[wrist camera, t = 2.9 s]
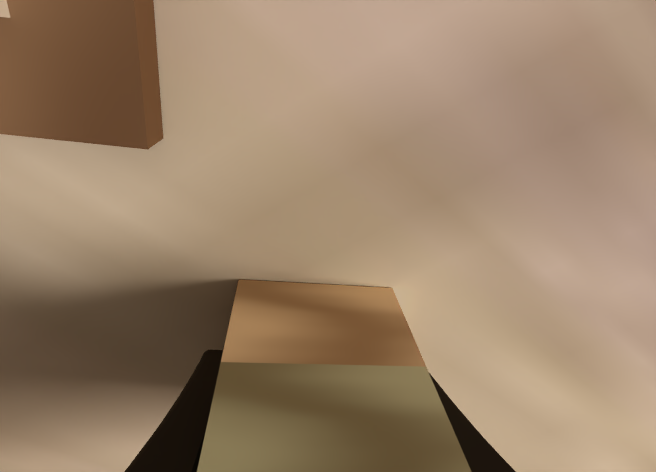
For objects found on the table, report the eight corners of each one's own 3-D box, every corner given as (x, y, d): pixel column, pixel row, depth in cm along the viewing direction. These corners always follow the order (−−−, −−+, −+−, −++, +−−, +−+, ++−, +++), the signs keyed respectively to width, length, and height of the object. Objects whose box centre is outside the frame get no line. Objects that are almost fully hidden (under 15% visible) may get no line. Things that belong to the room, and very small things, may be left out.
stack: (235, 389, 12) (194, 656, 7) (238, 279, 10) (181, 537, 5) (364, 390, 13) (419, 634, 7) (392, 287, 11) (492, 522, 5)
